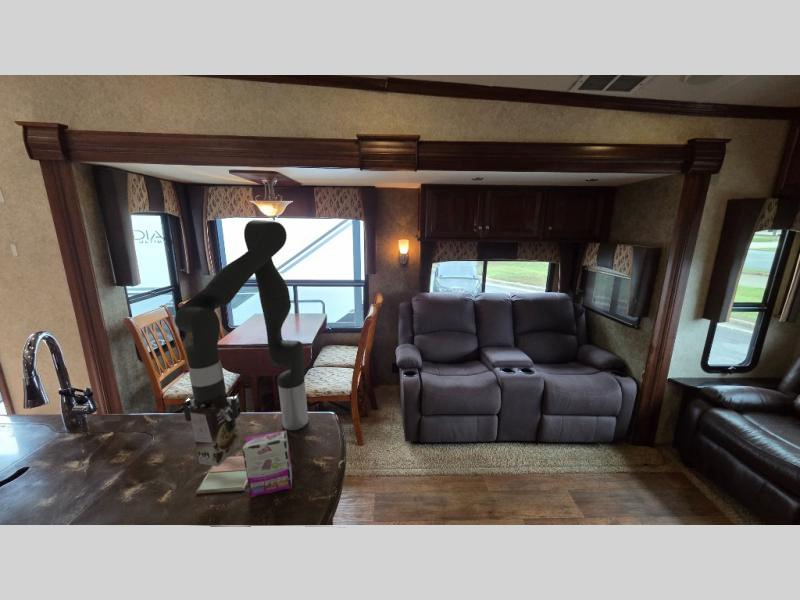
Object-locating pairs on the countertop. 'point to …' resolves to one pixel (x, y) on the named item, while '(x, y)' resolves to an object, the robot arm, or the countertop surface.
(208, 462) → the coffee box
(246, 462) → the candy bar box
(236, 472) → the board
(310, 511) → the countertop surface
